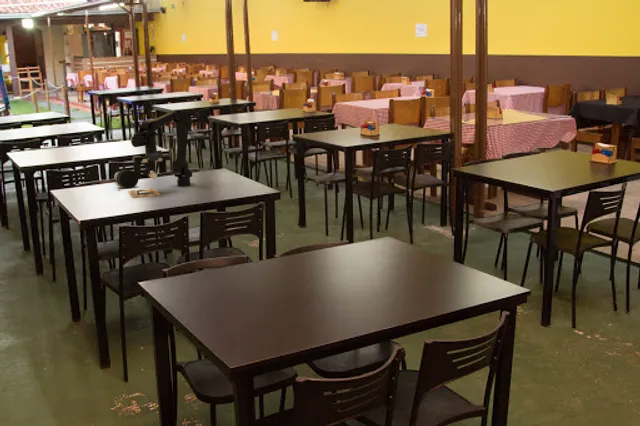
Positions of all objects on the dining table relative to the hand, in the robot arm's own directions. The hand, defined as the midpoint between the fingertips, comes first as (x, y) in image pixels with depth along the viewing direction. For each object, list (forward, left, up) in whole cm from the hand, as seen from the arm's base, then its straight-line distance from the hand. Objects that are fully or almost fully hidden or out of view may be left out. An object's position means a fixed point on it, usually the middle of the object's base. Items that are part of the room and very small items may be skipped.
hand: (152, 174), depth 366 cm
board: (+5, -1, -11) cm, 13 cm away
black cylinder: (+11, -40, -12) cm, 43 cm away
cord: (0, 0, 0) cm, 0 cm away
